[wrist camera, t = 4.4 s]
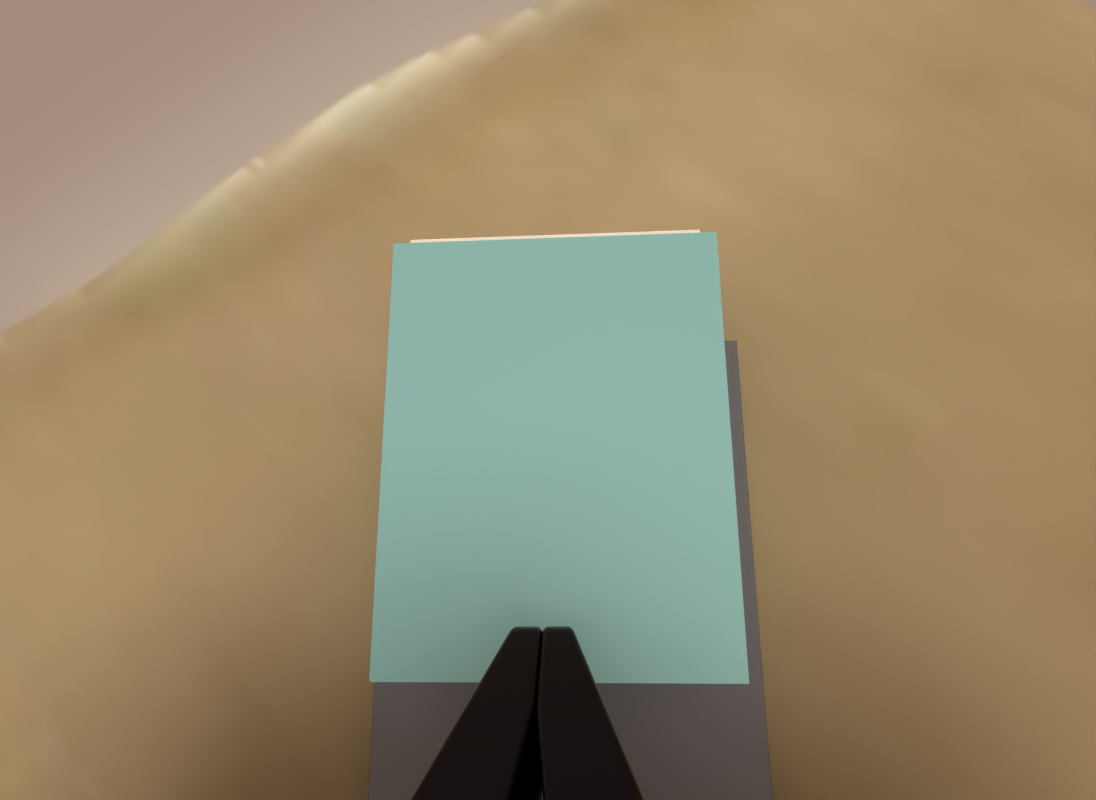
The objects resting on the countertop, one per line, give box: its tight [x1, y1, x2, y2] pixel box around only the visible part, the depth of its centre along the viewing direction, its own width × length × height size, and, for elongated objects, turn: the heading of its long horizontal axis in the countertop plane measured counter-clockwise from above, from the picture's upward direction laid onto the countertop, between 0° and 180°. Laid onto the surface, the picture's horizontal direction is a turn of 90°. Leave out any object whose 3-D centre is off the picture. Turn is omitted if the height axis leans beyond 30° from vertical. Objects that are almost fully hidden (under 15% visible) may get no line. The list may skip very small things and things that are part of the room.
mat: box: [368, 341, 772, 800], centre depth 16 cm, size 13×9×1 cm
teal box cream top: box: [369, 230, 749, 684], centre depth 15 cm, size 4×7×9 cm
